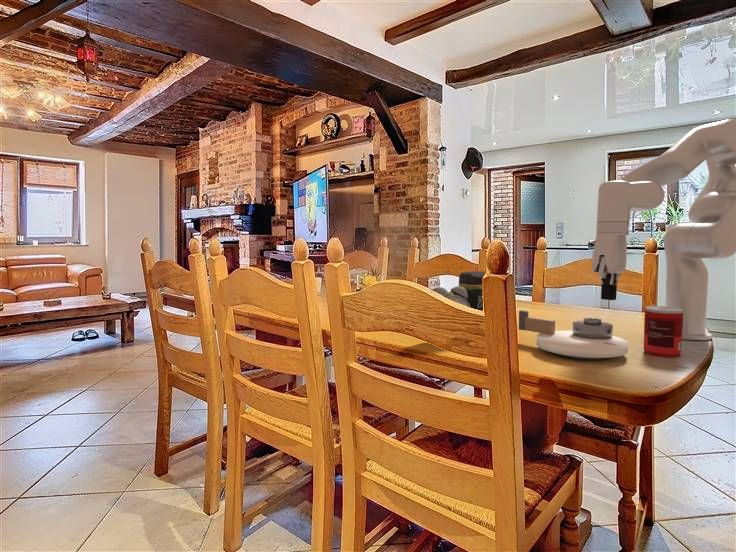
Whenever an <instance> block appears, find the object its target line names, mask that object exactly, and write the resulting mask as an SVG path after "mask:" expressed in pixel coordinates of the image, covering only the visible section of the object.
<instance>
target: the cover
mask: <svg viewBox="0 0 736 552" xmlns="http://www.w3.org/2000/svg"><path fill="white" fill-rule="evenodd" d="M613 328H614V325H613V324H612V323H610V322H606V321H602V319H601V318H598V317H584V318H583V320H575V321H573V322H572V330H571V331H572V334H573V335H574V336H576V337H580V338H586V339H611V338H612V336H613V334H614V332H613V330H614V329H613Z"/></svg>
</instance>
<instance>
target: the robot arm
mask: <svg viewBox="0 0 736 552" xmlns="http://www.w3.org/2000/svg"><path fill="white" fill-rule="evenodd" d="M703 162H706V165H707V169H708V179H707V182H706V183H705V184H704V187H703V188H702V190H701V191H700V193H699V194H698V195H697V197H696V198H695V200H694V201H693V203H692V204H691V206H690V208H689V210H688V214H687V215H688V219H689V221H690V222H687V223H686V222H685V223H679V224H675V225H673V226H671V227H670V228H669V229H668V230H667V231H666V232H665V234H664V236H663V248H664V253H665V259H666V260H665V261H666V281H665V282H666V284H665V298H664V299H665V300H664V301H665V304H664V306H667V307H676V308H680V309H683V328H682V340H685V341H710V340H712V339H713V334H712V333H711V332H708V331H706V329H707V327H706V326H707V325H706V324H707V311H708V310H707V308H708V307H707V306H708V290H709V289H708V288H709V271H708V268H707V266H706V264H705V262H704V261H703V259H711V260H712V259H716V260H717V259H727V258H730V257H732V256H734V255H735V254H736V118H734V119H725V120H721V121H716V122H711V123H708V124H704V125H700V126H698V127H695V128H693V129H691V130H690V131H688V132H687V133H686V134H684V135H683V136H682V137H681V138H679V140H677V141H676V142H675V143H674V144H673V145H671V146H670V148H668V149H667V150H666V151H665V152H663V153H662V154H660V155H659V156H657V157H655V158H653V159H651V160H649V161H648V162H646V163H644V164H642V165H640V166H639V167H637V168H635V169H633V170H631V171H629V172H628V173H626V174H625V175H624V176H622V177H621V178H620V179H618V180H609V181H603V182H602V183H601V184H599V187H598V196H597V197H598V198H597V211H596V233H595V235H596V236H595V241H594V245H593V252H592V261H591V263H592V264H591V270H592V272H594V273H598V274H597V276H598V278H600V284H601V288H600V289H601V290H600V299H601V300H604V301H605V300H606V301H616V300H617V290H618V283H619V278H620V277H621V276H622V273H623V272H625V271H626V267H627V255H628V254H627V253H628V252H627V251H628V247H627V245H628V244H627V236H629V235H630V220H631V212H644V211H645V212H646V211H651V210H653V209H656V208H658V207H660V205H661V204H662V203H663V202H664V200H665V191H664V188H663V186H667V185H670V184H673V183H676V182H678V181H680V180H683V179H685V178H686V177H688V176H689V175H690V174H691V173H692V172H694V171H695V169H696V168H698V167H699V166H700V165H701V164H703Z"/></svg>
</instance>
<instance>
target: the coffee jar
mask: <svg viewBox="0 0 736 552" xmlns="http://www.w3.org/2000/svg"><path fill="white" fill-rule="evenodd" d="M485 272H486V271H480V270H474V271H473V270H472V271H464V272H461V273H460V275H459V278H458V279H459V280H458V286H460V287H461V286H463V287H464V289H465V290H466V291H467V294H468V297H467V299H466V300H467V302H468V303H469V305H470V307H471V308H474V309H478V310H481V311H482V310H483V298H482V278H483V276H484V274H485Z"/></svg>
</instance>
